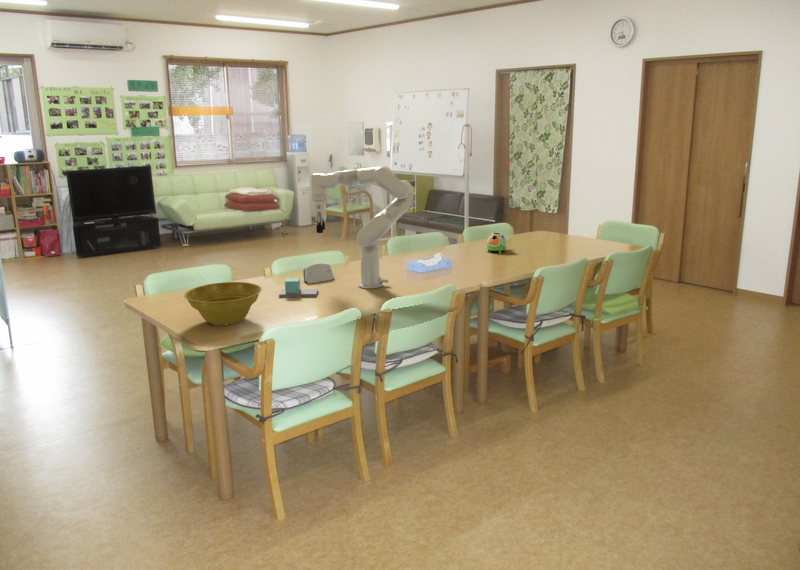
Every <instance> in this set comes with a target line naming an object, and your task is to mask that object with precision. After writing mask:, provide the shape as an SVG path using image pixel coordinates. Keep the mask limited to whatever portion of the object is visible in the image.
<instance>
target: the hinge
mask: <svg viewBox="0 0 800 570" xmlns="http://www.w3.org/2000/svg"><path fill="white" fill-rule="evenodd" d="M302 273H303V275H302V276H303V282H304V283H306V282H307V284H308V283H309V284H314V283H315V284H316V283H322V282H328V281H333V280H332V279H334V280H336V279H335V275H334V273H333V270H332V266H331V265H330V264H329V263H328V264H327V263H314V264H311V265H308V266H306V267H305V268H303V270H302ZM327 280H328V281H327ZM321 281H322V282H321Z"/></svg>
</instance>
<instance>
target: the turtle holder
mask: <svg viewBox="0 0 800 570" xmlns="http://www.w3.org/2000/svg"><path fill="white" fill-rule="evenodd" d="M506 239H507V238H506V236H504V234H502V232H492V233H491V235H489V237H488V238H487V241H486V249H487V251H486V252H487V253H489V252H491V251H494V252H497V251H498V254H501V253H502V251H503V252H507V240H506Z"/></svg>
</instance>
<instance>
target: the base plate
mask: <svg viewBox="0 0 800 570" xmlns="http://www.w3.org/2000/svg"><path fill="white" fill-rule="evenodd" d="M318 293H319V288H300V292H299V293H285V288H282V289H281V291H280V292H279V295H278V298H316V297H317V296H318Z"/></svg>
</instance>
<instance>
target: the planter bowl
mask: <svg viewBox="0 0 800 570" xmlns="http://www.w3.org/2000/svg"><path fill="white" fill-rule="evenodd" d="M262 291H263V290H262V287H261V286H260V285H258V284H256V283H251V282H243V281H237V282H236V281H226V282H224V281H223V282H217V283H215V282H214V283H209V284H204V285H201V286H196V287H194V288H191V289H189V290H187V291H186V292H185V293H184V294H183V297H184V298H185V299H186V300H187V302H188V303H189V305H190V307H192V308H193V309H195V310H197V311H198V313H199V314H200V316H201V317H202V318H203V320H204V321H205V322H206V323H208V324H210V323H211V325H213V324H216V325H215V326H226V325H225V324H231V325H234V324H233V323H235V324H238V323H240V322H242V321H243V320H244V319H246V317H247V316H248V314H249V312H250V309H251V308H252V305H253V304H255V303H256V301H257V300H258V298H259V295H260V293H261V292H262ZM239 321H240V322H239ZM237 322H238V323H237Z"/></svg>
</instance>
